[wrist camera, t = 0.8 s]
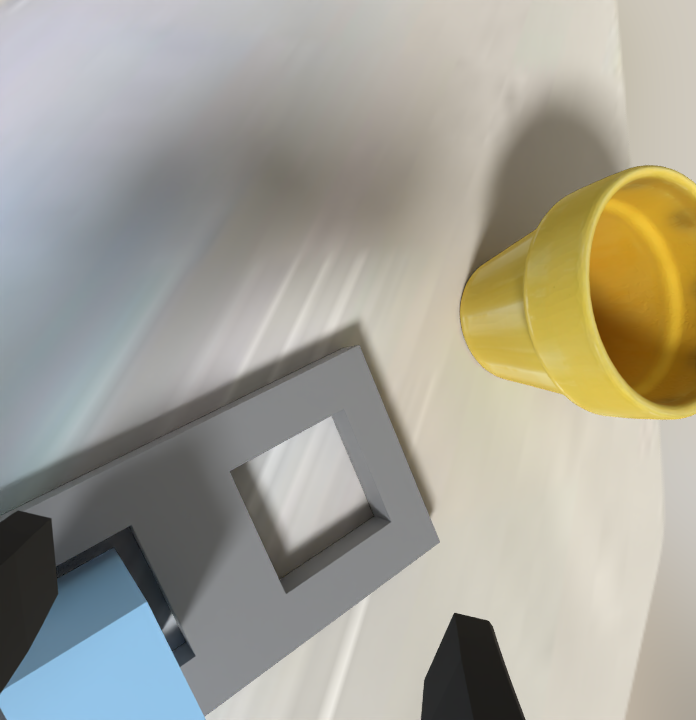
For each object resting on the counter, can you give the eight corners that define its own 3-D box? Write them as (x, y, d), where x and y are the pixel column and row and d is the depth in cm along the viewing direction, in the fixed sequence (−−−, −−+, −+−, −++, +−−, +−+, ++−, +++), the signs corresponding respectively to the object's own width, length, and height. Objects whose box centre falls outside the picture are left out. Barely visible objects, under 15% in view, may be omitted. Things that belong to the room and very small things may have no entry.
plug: (158, 636, 23) (206, 721, 17) (53, 704, 22) (65, 826, 15) (113, 547, 23) (147, 601, 17) (2, 609, 21) (-7, 695, 15)
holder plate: (421, 535, 29) (440, 541, 28) (12, 829, 21) (12, 858, 19) (343, 347, 28) (359, 345, 27) (-130, 579, 19) (-141, 592, 18)
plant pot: (395, 347, 29) (549, 324, 21) (476, 186, 32) (640, 109, 24) (532, 449, 33) (709, 465, 25) (593, 296, 36) (770, 264, 28)
